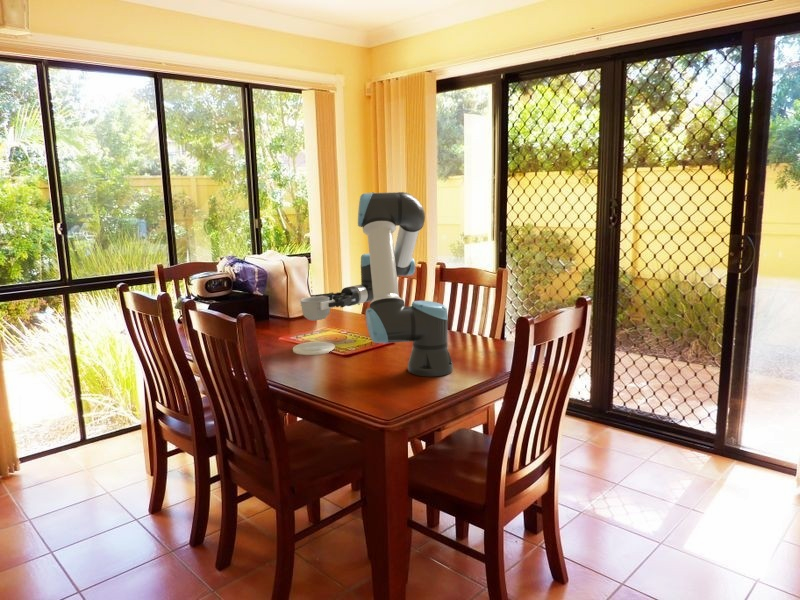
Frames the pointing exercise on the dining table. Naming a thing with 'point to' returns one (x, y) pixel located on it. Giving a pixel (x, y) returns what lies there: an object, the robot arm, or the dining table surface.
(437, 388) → the dining table surface
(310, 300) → the teacup
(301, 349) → the saucer
